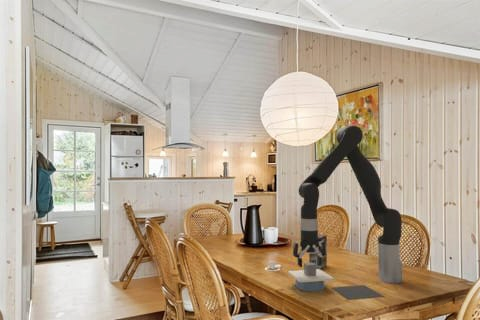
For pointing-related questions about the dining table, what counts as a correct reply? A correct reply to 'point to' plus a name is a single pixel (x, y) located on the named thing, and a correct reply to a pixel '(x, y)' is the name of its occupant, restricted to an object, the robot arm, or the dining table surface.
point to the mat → (356, 292)
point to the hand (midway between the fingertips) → (309, 266)
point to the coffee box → (314, 256)
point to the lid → (310, 274)
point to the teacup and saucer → (273, 266)
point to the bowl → (310, 285)
